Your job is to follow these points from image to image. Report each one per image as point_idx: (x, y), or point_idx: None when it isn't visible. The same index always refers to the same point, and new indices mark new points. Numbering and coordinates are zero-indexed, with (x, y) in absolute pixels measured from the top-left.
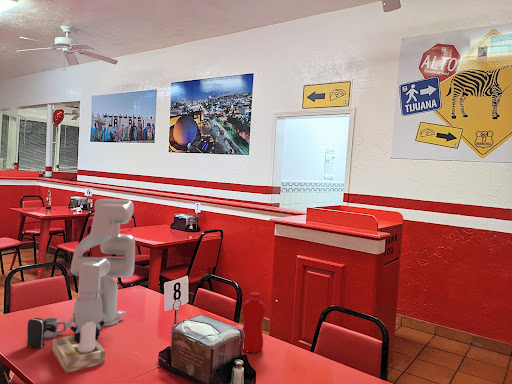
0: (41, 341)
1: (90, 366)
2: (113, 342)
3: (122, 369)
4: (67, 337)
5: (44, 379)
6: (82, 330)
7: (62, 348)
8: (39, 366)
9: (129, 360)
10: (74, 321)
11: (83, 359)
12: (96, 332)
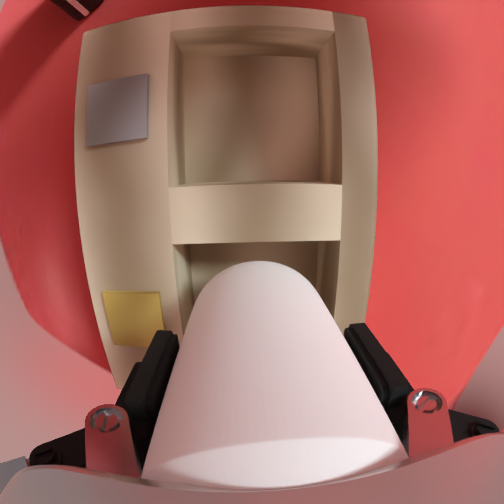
0: (69, 1)
1: None
2: (454, 124)
3: None
4: (180, 27)
5: (66, 345)
6: None
7: (98, 224)
8: (42, 219)
9: (423, 352)
10: (45, 488)
11: None
12: None
